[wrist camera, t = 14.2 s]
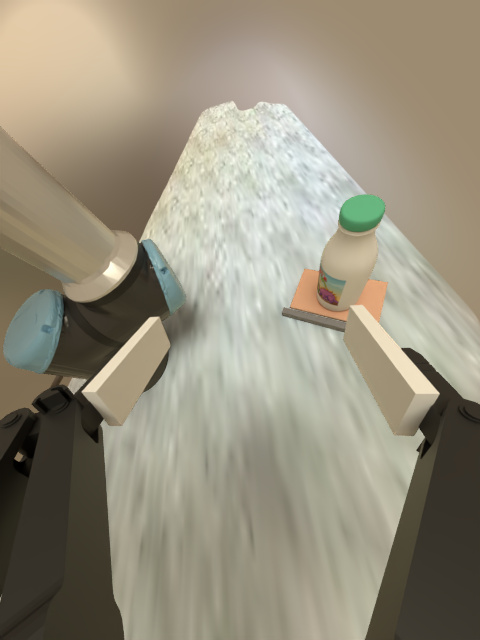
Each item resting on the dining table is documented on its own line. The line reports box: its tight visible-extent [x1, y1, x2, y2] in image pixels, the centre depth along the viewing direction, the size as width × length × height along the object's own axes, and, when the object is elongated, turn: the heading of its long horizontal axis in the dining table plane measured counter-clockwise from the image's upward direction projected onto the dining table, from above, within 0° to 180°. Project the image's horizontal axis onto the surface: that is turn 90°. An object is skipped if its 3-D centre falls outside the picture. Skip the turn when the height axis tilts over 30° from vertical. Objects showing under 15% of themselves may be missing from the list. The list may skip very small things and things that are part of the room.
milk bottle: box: [317, 195, 385, 311], centre depth 32 cm, size 8×8×20 cm
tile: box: [290, 269, 388, 323], centre depth 41 cm, size 16×10×1 cm, turn 66°
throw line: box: [282, 308, 346, 332], centre depth 38 cm, size 18×1×2 cm, turn 66°
